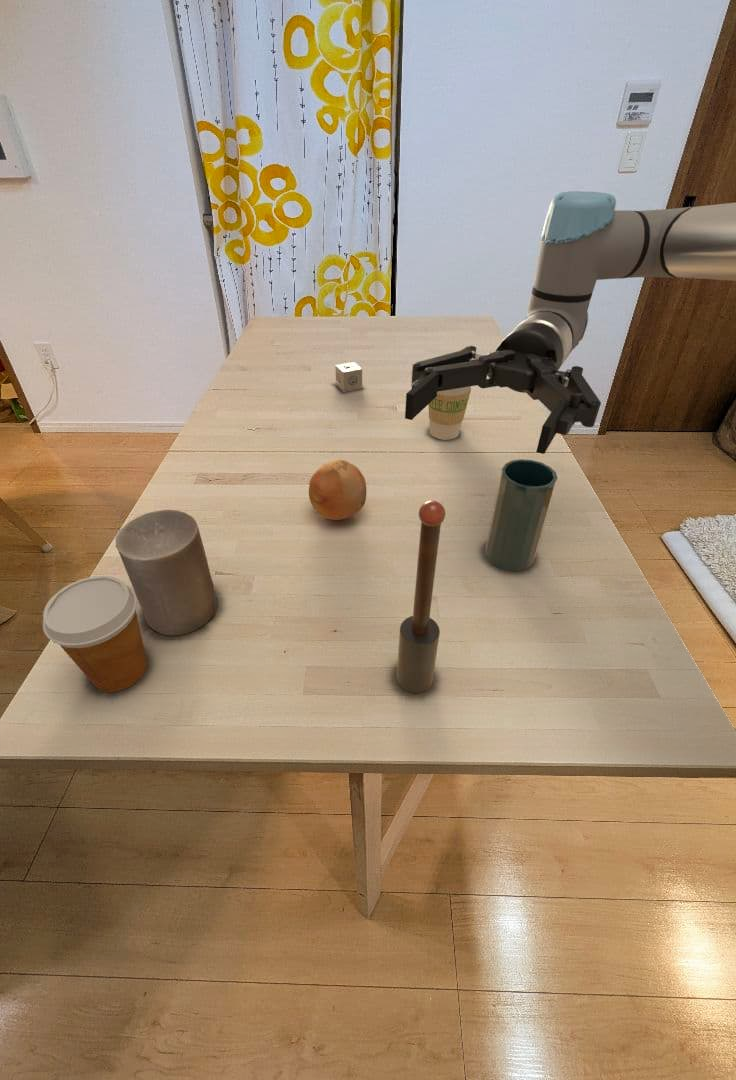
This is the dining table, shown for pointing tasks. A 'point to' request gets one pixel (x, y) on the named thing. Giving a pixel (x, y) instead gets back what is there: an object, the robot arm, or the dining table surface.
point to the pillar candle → (168, 571)
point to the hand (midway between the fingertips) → (472, 422)
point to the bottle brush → (421, 610)
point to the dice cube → (348, 376)
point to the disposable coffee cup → (98, 630)
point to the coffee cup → (448, 412)
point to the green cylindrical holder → (519, 513)
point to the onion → (337, 490)
